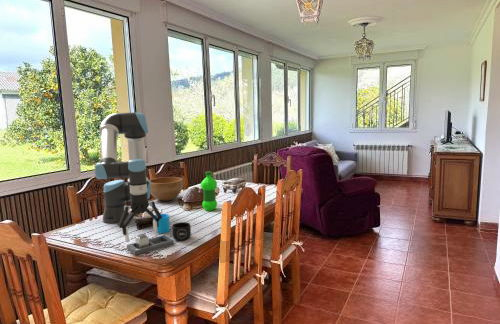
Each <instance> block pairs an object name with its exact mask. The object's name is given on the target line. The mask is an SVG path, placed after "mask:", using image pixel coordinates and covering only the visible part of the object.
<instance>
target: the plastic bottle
mask: <svg viewBox="0 0 500 324" xmlns="http://www.w3.org/2000/svg"><path fill="white" fill-rule="evenodd" d="M204 173H205V176H206V177H204V179H203V180H202V181H201V183H200V187H201V189H202V196H203V199H202V200H203V201H202V203H201V205H202V209H204V210H206V212H207V211H208V212H211V211H214V210H215V209H216V208H217V205H218V202H217V200H216V189H217V186H218V182H217V180H215V178H213V177H212V174H213V172H212V171H211V170H210V171H208V170H207V171H205V172H204Z"/></svg>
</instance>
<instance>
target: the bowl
mask: <svg viewBox="0 0 500 324" xmlns="http://www.w3.org/2000/svg"><path fill="white" fill-rule="evenodd" d="M149 180H150V181H151V192H150V196H152V197H153V198H154V199H156V200H158V201H162V202H163V201H164V202H167V201H171V200H174V199H175V198H177V197H178V196H179V195H180V194H181V192H182V190H183V187H184V181H183V178H182V177H176V176H163V177H155V178H150V179H149Z"/></svg>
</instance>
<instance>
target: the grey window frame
mask: <svg viewBox="0 0 500 324" xmlns="http://www.w3.org/2000/svg"><path fill="white" fill-rule="evenodd" d="M174 240H175V239H172V238H170V237H168V236H167V235H165V234H163V235H159V236H156V237H152V238H149V246H147V247H143V248H140V249H137V248H136V242H133V243H132V242H131V243H128V244H126V249H127V250H128V251H129V253H131V254H132V255H133V256H137V255H138V256H139V255H141V254H142V255H143V254H145V253H149V252H152V251H156V250H161V249H163V248H165V247H166V248H167V247H170V246H173V245H174V244H175V241H174Z"/></svg>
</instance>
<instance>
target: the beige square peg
mask: <svg viewBox="0 0 500 324" xmlns="http://www.w3.org/2000/svg"><path fill="white" fill-rule="evenodd" d="M149 239H150V238H149V236H148V235H146V234H145V233H140V234H137V235H136V236H135V243H136V248H137V249H140V248H143V247H147V246H149Z"/></svg>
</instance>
